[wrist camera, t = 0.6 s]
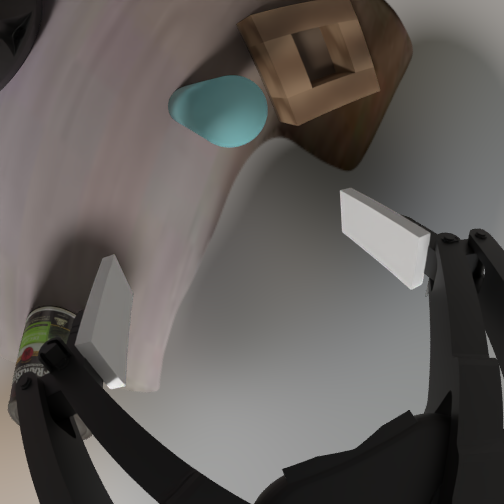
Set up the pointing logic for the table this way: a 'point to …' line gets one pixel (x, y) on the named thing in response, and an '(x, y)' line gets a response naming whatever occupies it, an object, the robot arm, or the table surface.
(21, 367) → the coffee can
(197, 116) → the teal pin
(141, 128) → the table surface
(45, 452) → the robot arm
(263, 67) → the walnut hole block
